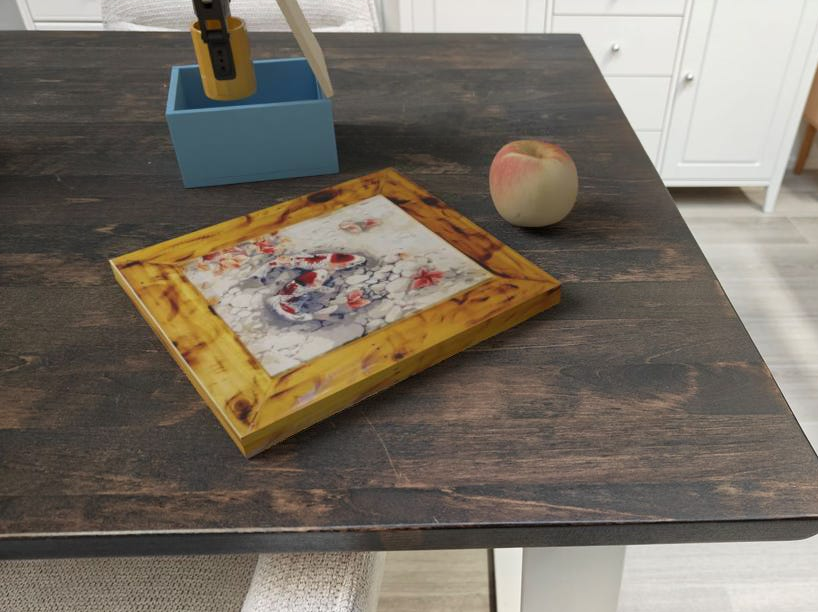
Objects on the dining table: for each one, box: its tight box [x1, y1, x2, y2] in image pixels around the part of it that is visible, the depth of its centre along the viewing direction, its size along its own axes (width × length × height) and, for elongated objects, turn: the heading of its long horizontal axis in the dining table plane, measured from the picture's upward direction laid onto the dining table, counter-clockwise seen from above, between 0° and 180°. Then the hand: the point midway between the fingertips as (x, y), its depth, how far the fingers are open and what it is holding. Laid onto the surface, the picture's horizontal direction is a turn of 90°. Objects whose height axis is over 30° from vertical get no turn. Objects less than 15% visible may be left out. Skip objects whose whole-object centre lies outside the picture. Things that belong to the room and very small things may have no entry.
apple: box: [488, 139, 579, 228], centre depth 74 cm, size 9×9×8 cm
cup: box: [188, 15, 257, 101], centre depth 79 cm, size 6×6×7 cm
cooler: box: [165, 56, 340, 189], centre depth 84 cm, size 17×14×8 cm
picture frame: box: [108, 166, 563, 460], centre depth 66 cm, size 27×2×30 cm
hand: (226, 67), depth 80 cm, fingers closed on cup, 5 cm apart
